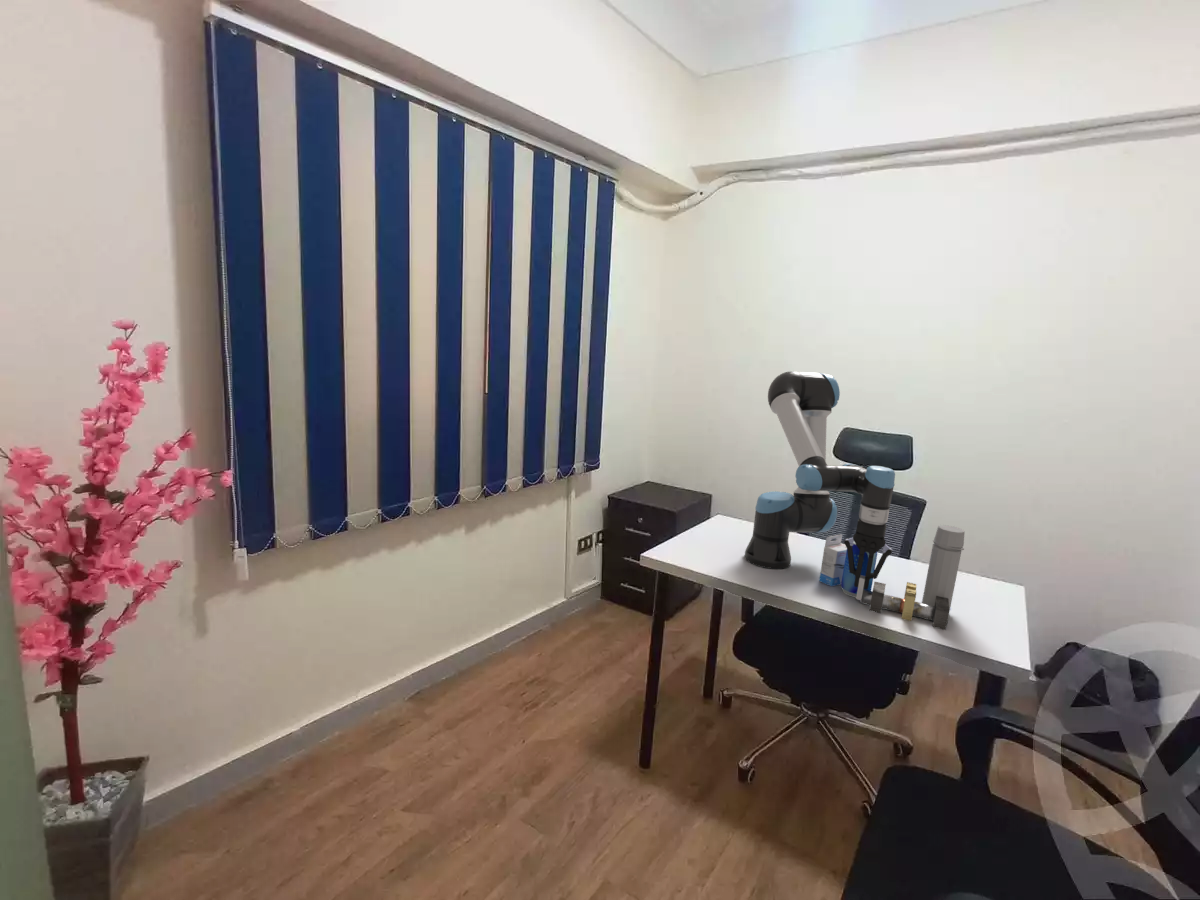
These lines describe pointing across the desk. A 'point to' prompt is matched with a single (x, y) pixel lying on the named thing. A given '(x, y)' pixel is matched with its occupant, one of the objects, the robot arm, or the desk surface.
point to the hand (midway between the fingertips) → (859, 597)
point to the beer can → (848, 577)
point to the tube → (902, 605)
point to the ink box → (833, 561)
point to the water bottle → (943, 564)
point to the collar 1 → (877, 597)
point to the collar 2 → (941, 612)
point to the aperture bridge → (909, 601)
